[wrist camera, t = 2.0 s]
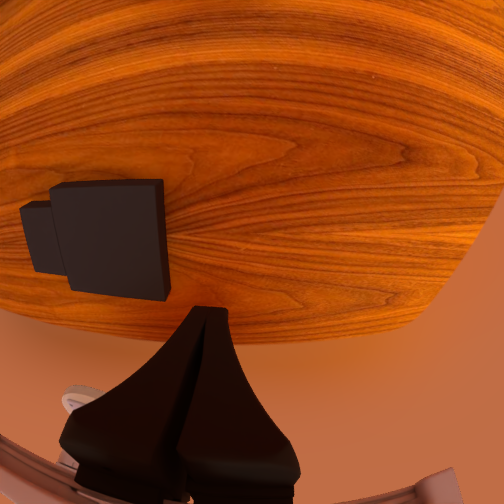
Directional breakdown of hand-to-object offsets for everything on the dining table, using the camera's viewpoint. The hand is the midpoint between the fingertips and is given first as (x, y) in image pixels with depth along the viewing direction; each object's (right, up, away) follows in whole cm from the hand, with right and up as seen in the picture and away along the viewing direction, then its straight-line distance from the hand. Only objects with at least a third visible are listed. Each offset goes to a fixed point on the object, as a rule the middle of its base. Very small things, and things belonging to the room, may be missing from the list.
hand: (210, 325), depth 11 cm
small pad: (-10, +4, +7) cm, 13 cm away
